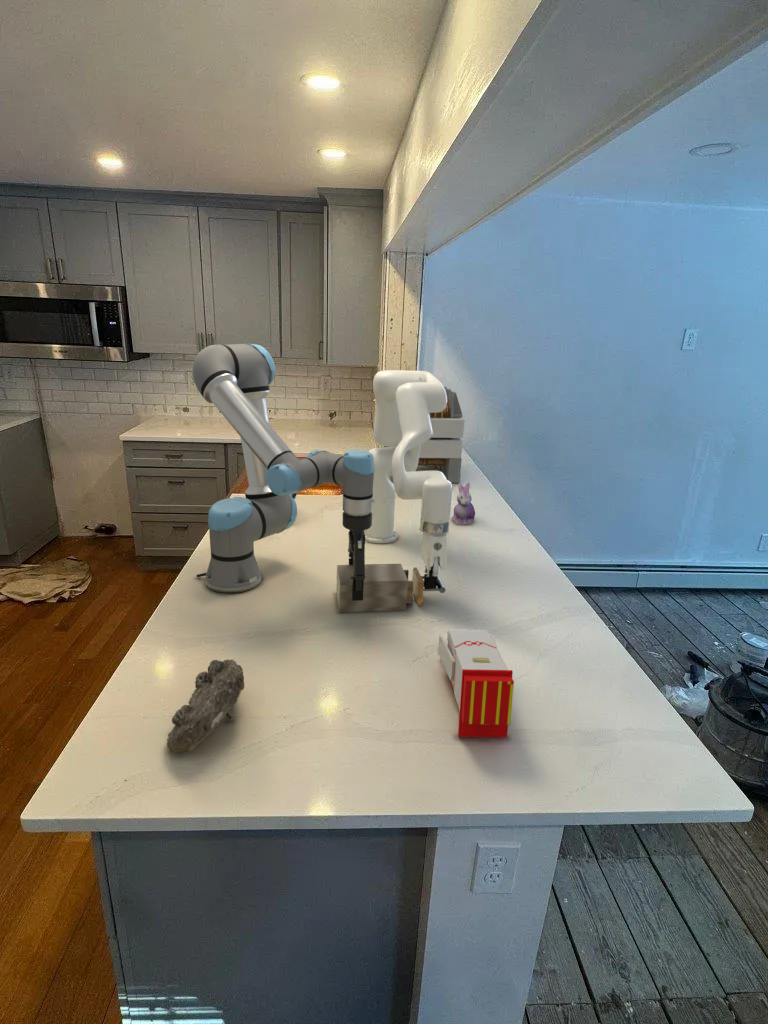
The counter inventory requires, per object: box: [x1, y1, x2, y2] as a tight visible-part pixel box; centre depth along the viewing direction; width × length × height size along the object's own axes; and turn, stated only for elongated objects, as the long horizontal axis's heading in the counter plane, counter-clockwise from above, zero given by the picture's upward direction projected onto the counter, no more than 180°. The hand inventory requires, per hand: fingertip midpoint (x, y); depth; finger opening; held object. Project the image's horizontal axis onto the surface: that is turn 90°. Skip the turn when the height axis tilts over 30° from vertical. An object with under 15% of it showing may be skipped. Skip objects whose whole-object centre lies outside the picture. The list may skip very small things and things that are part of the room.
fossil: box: [166, 658, 245, 754], centre depth 106 cm, size 22×10×15 cm
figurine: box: [452, 481, 476, 526], centre depth 212 cm, size 9×10×15 cm
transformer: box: [383, 386, 465, 484], centre depth 268 cm, size 34×33×41 cm
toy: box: [437, 628, 515, 738], centre depth 117 cm, size 12×13×30 cm
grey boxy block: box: [335, 563, 409, 613], centre depth 152 cm, size 18×10×9 cm, turn 99°
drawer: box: [403, 566, 447, 606], centre depth 153 cm, size 23×9×7 cm, turn 99°
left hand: (355, 589), depth 151 cm, fingers closed on grey boxy block, 10 cm apart
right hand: (429, 588), depth 154 cm, fingers closed
